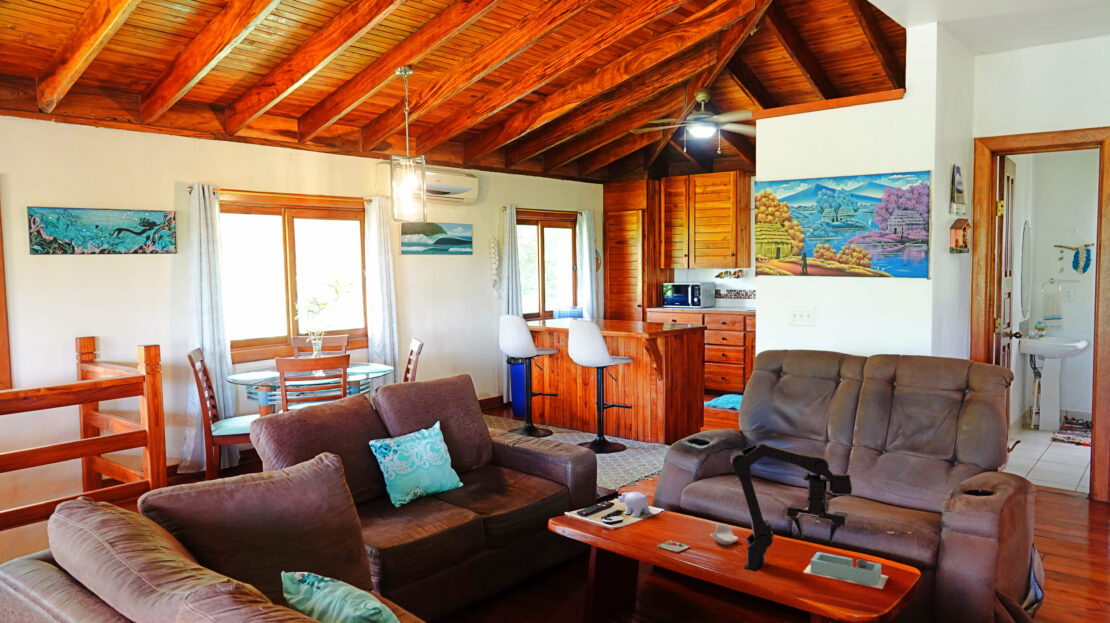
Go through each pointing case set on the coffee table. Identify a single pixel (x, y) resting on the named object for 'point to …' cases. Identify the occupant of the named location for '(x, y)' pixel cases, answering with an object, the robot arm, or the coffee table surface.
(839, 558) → the mint green notched block
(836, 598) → the coffee table surface
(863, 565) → the post stand
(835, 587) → the coffee table surface
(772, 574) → the coffee table surface
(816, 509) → the robot arm
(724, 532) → the pottery shard
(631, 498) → the grey bear figurine
